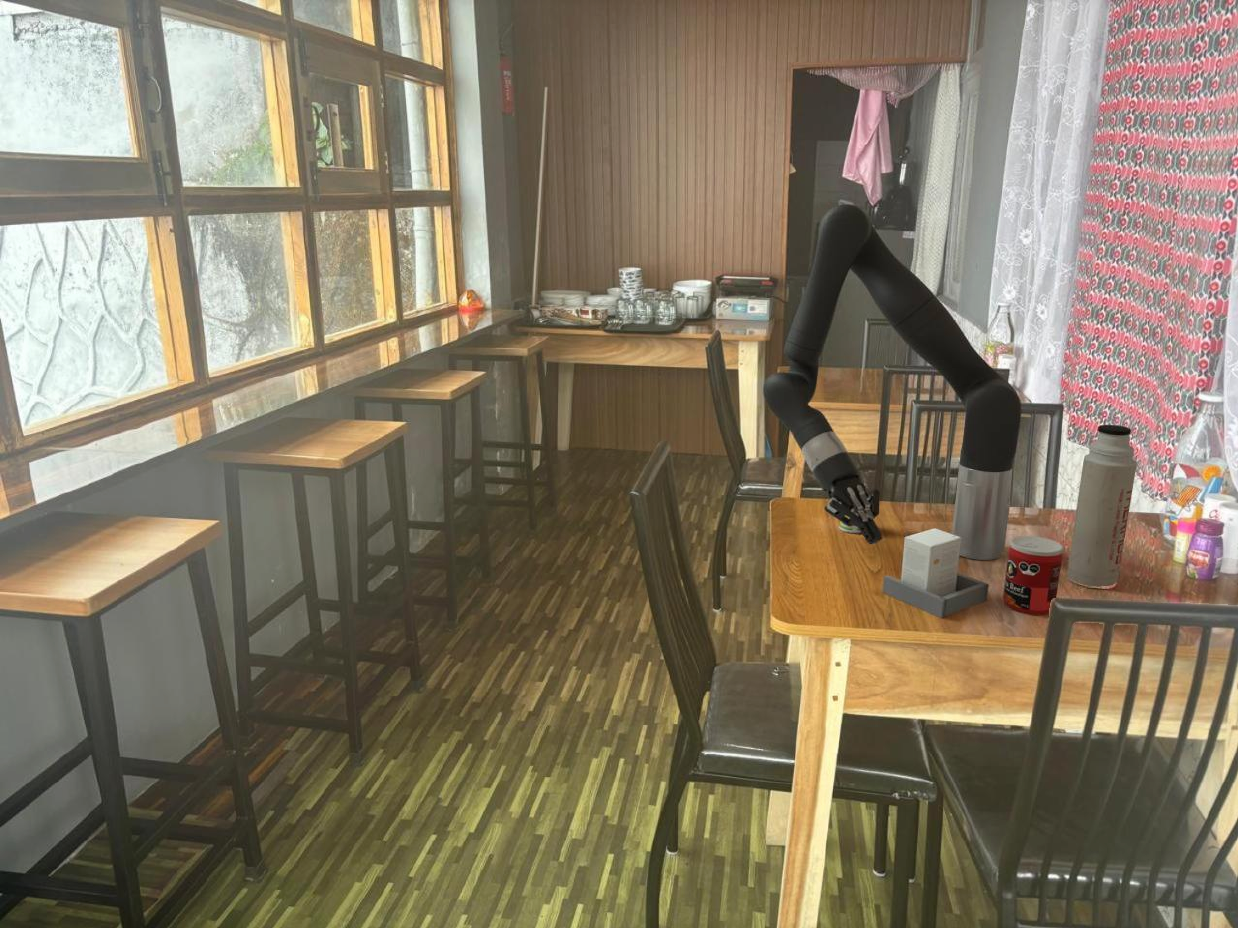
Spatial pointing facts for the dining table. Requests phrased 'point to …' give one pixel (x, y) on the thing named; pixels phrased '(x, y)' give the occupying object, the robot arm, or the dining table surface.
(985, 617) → the dining table surface
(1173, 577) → the dining table surface
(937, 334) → the robot arm
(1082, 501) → the thermos bottle
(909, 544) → the small box
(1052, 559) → the canned food
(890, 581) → the bay
